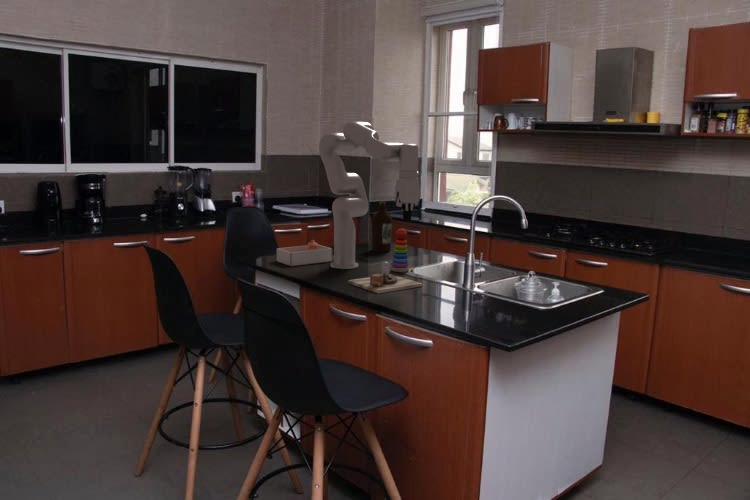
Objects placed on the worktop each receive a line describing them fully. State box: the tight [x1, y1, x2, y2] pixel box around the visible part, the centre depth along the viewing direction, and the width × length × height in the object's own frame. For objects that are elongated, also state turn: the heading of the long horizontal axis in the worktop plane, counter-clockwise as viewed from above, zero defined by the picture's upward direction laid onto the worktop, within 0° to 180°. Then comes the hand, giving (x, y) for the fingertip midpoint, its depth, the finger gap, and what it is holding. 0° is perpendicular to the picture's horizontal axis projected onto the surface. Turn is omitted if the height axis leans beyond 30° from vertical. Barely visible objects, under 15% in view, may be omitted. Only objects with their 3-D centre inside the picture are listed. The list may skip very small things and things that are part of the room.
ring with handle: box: [371, 273, 397, 287], centre depth 261 cm, size 15×9×4 cm, turn 157°
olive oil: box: [371, 201, 393, 253], centre depth 337 cm, size 11×11×25 cm
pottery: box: [291, 239, 319, 253], centre depth 306 cm, size 18×10×10 cm, turn 127°
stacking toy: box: [390, 228, 410, 273], centre depth 290 cm, size 8×8×19 cm
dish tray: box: [276, 244, 333, 267], centre depth 308 cm, size 13×22×6 cm, turn 127°
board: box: [347, 273, 423, 294], centre depth 264 cm, size 20×22×1 cm
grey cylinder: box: [369, 261, 390, 285], centre depth 261 cm, size 3×10×8 cm, turn 127°
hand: (406, 220), depth 268 cm, fingers closed
